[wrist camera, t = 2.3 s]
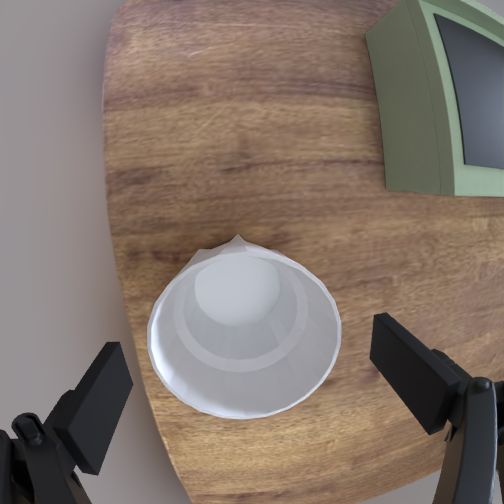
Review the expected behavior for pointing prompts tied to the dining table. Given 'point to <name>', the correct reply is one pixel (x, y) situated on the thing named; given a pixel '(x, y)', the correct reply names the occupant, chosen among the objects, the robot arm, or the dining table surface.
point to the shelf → (440, 97)
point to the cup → (243, 332)
